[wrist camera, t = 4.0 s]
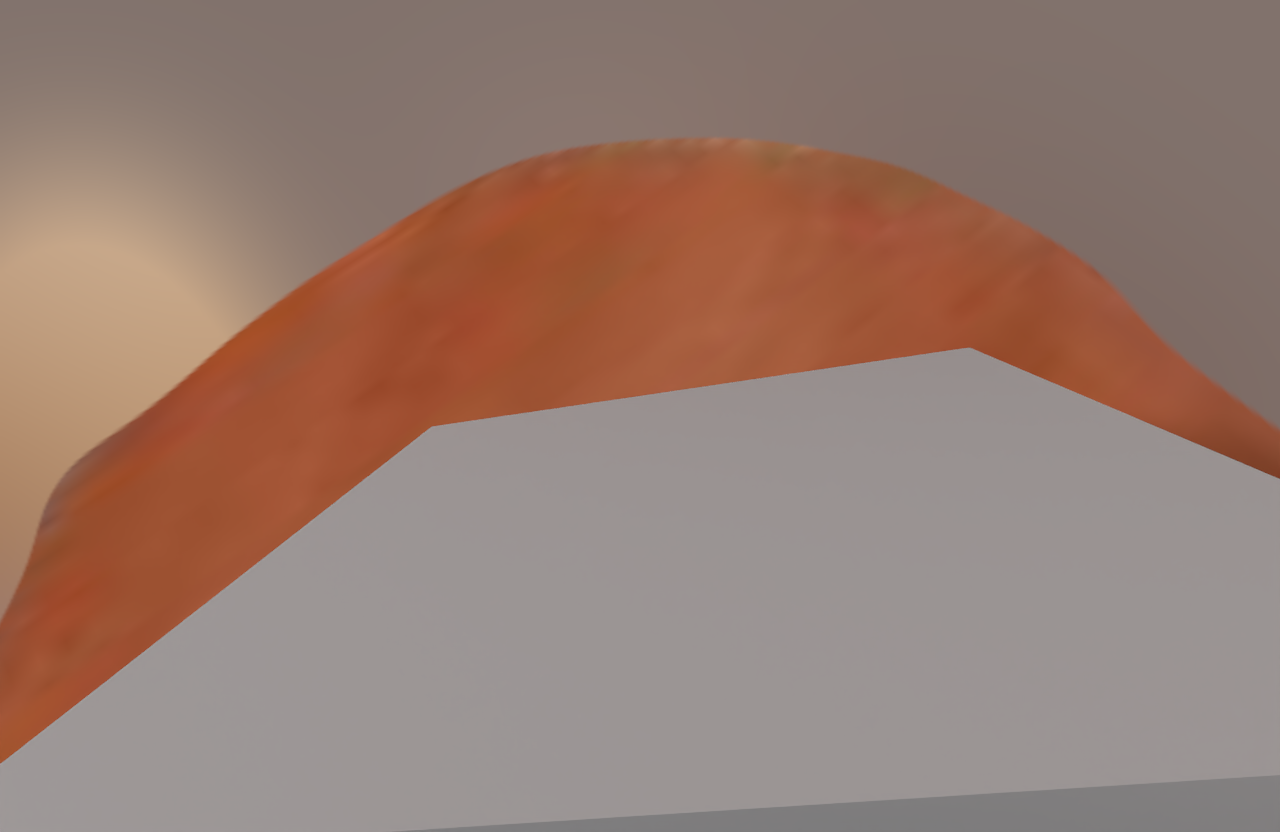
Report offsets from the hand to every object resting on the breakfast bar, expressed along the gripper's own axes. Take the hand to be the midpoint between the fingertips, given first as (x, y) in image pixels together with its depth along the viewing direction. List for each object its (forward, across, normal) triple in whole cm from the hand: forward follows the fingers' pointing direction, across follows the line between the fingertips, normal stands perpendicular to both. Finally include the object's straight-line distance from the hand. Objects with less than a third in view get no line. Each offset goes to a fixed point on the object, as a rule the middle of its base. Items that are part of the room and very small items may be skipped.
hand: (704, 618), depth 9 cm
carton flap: (+1, 0, -1) cm, 2 cm away
